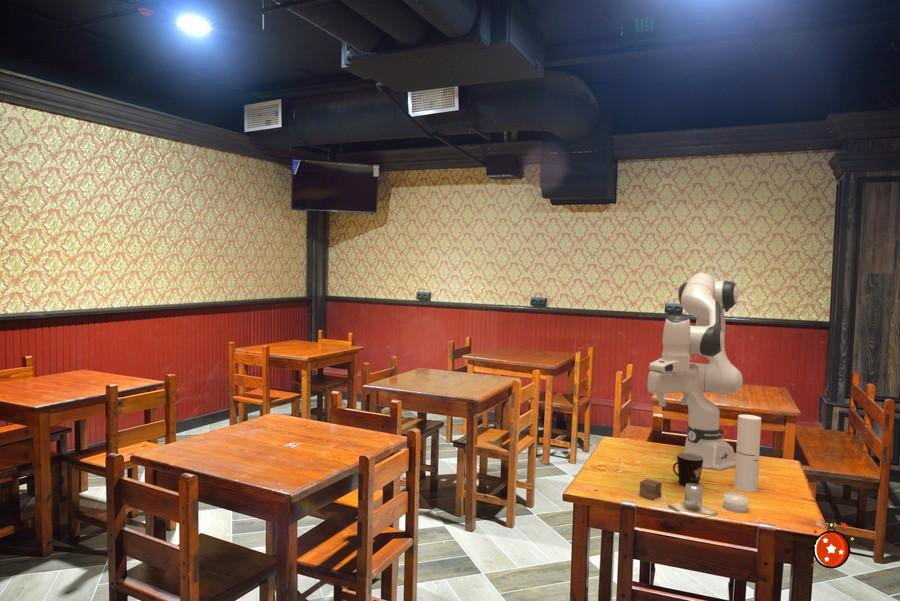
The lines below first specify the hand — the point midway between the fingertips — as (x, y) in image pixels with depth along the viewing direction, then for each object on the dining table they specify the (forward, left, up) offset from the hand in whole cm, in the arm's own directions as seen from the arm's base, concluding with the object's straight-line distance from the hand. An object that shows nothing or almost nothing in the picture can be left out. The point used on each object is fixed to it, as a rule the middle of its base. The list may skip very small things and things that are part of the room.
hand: (673, 405), depth 203 cm
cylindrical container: (-28, +7, -29) cm, 41 cm away
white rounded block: (-9, +19, -29) cm, 36 cm away
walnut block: (+10, +2, -29) cm, 31 cm away
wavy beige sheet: (+6, +16, -29) cm, 34 cm away
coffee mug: (-10, -3, -29) cm, 31 cm away
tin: (+6, +16, -28) cm, 33 cm away
